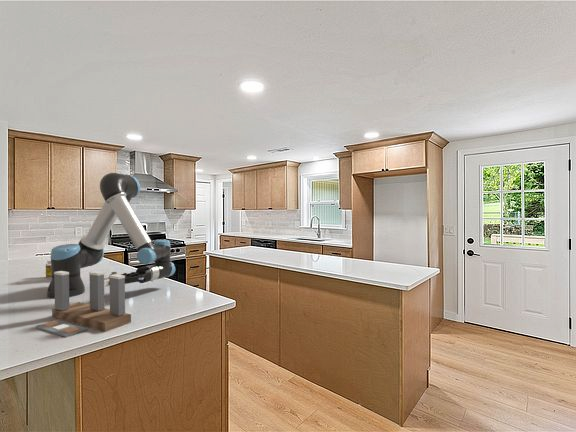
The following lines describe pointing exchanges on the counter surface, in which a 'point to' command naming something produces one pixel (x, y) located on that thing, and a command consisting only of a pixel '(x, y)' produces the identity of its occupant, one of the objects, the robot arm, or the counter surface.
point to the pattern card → (61, 328)
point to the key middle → (96, 290)
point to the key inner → (61, 290)
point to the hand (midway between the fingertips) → (100, 284)
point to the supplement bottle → (48, 269)
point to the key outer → (117, 294)
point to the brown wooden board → (91, 317)
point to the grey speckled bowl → (110, 274)
